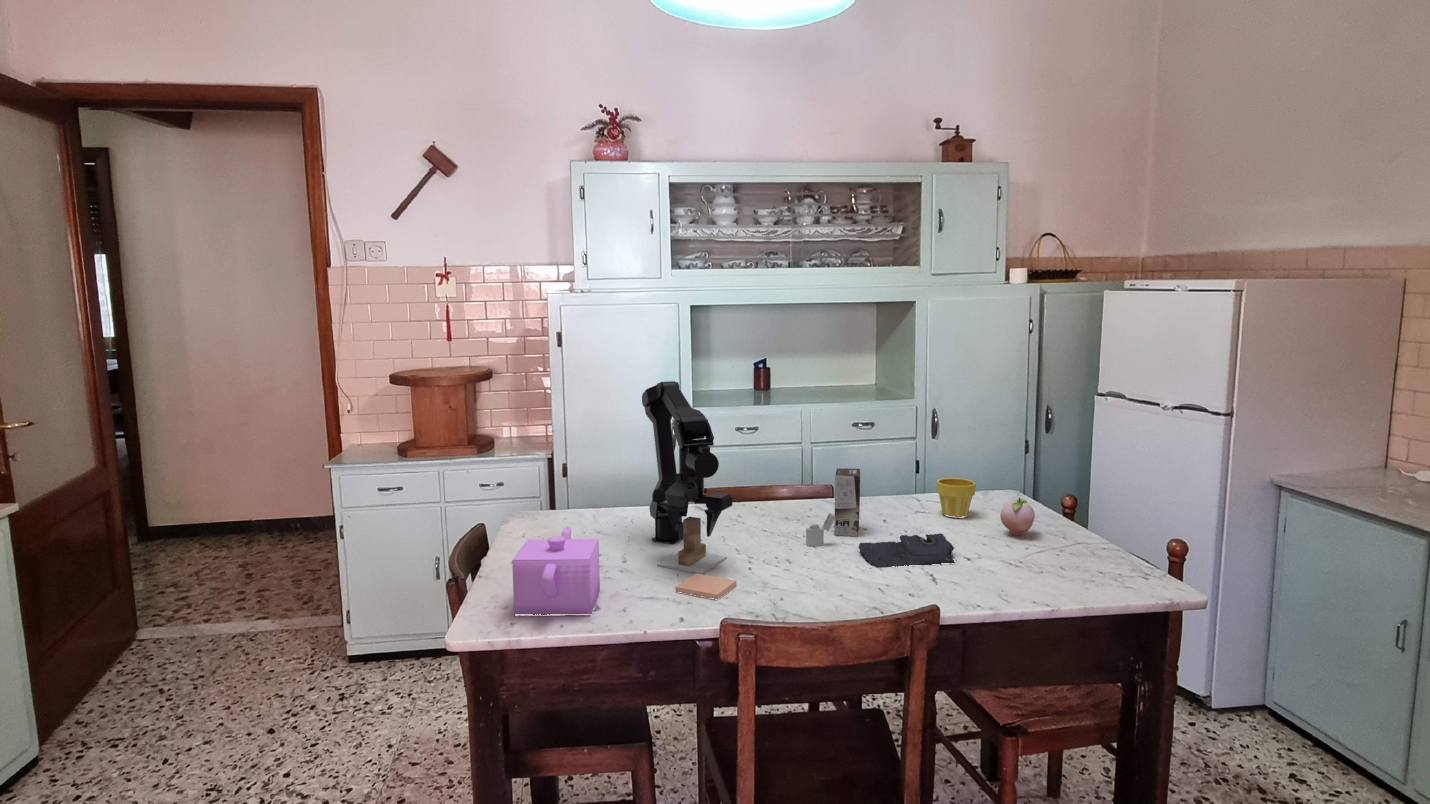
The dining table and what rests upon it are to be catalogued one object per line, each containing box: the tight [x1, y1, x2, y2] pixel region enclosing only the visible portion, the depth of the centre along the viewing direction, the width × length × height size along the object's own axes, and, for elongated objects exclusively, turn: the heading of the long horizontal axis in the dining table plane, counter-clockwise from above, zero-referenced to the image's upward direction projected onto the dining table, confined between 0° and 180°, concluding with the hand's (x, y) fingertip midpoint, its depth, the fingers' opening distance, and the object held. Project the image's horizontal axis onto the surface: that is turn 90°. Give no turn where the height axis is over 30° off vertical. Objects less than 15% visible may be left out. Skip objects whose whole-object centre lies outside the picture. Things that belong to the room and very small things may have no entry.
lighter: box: [805, 512, 835, 547], centre depth 201 cm, size 7×2×8 cm, turn 95°
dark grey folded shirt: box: [857, 532, 956, 569], centre depth 193 cm, size 15×22×5 cm
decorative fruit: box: [1000, 497, 1036, 536], centre depth 207 cm, size 9×8×10 cm
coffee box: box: [833, 467, 861, 538], centre depth 211 cm, size 9×6×16 cm
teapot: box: [511, 526, 601, 615], centre depth 165 cm, size 15×25×14 cm, turn 1°
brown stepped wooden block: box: [678, 516, 707, 566], centre depth 188 cm, size 3×8×10 cm, turn 153°
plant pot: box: [936, 477, 976, 517], centre depth 226 cm, size 10×10×10 cm
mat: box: [656, 551, 728, 575], centre depth 189 cm, size 12×12×1 cm
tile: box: [674, 573, 737, 599], centre depth 172 cm, size 10×2×9 cm
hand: (692, 533), depth 188 cm, fingers open, 9 cm apart
